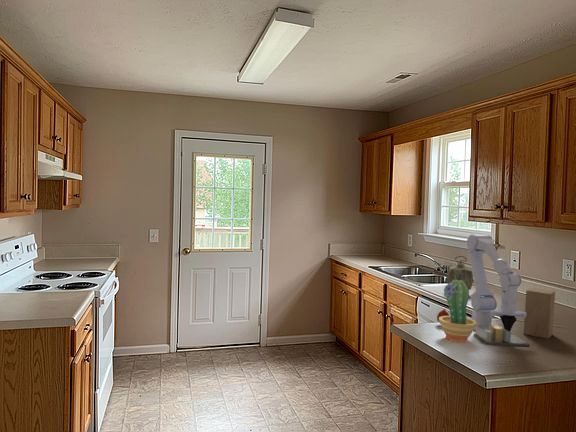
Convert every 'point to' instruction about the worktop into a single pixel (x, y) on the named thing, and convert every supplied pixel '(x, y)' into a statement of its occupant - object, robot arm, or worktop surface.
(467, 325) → the potted cactus
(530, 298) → the wooden block
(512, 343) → the vise
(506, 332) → the block
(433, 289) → the worktop surface
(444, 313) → the pomegranate
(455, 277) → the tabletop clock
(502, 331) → the brass block
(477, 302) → the robot arm
